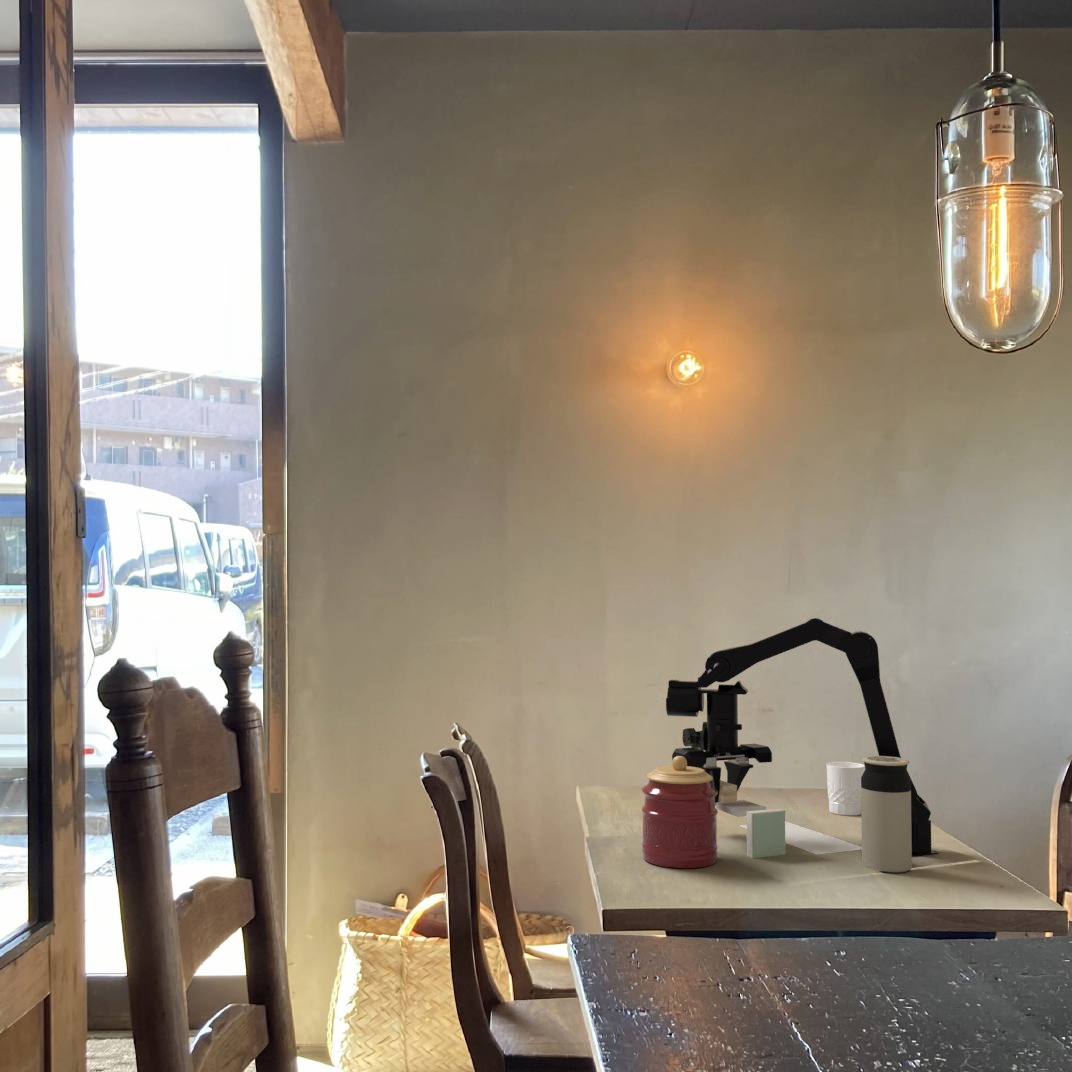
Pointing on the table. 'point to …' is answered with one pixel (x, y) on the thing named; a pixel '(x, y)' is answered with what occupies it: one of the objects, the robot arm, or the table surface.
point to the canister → (679, 817)
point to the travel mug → (886, 814)
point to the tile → (765, 833)
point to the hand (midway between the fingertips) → (722, 802)
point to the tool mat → (814, 840)
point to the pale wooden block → (734, 801)
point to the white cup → (844, 787)
